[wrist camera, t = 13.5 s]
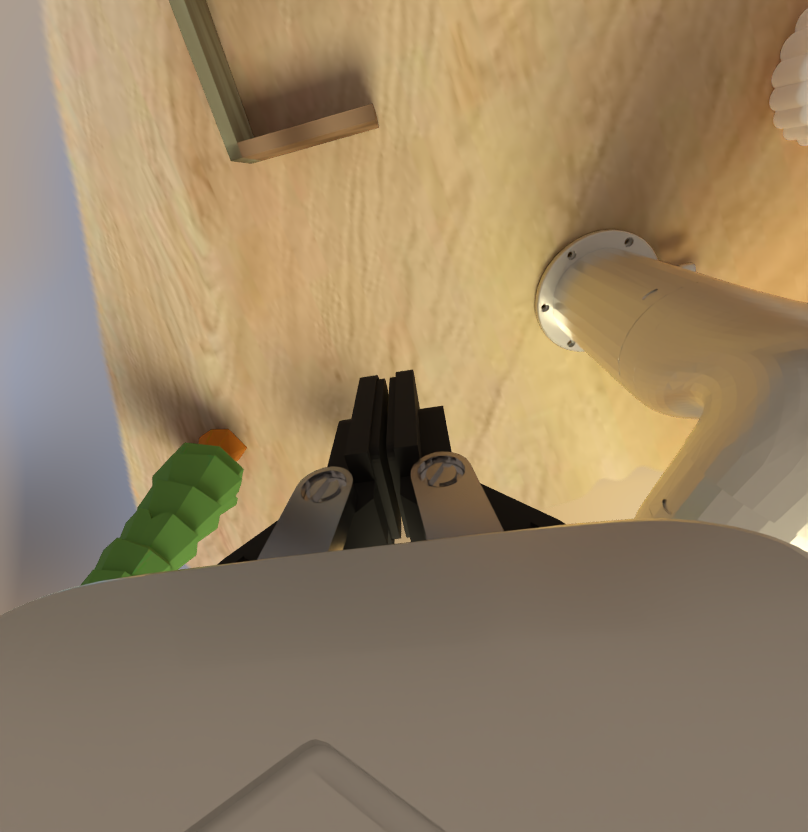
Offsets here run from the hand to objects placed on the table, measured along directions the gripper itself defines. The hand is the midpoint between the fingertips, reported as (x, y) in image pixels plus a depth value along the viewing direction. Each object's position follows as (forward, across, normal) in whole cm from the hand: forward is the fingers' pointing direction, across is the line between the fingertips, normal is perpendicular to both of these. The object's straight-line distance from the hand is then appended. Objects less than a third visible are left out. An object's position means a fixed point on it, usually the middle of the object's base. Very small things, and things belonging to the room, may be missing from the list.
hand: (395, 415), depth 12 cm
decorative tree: (+32, +27, +20) cm, 46 cm away
